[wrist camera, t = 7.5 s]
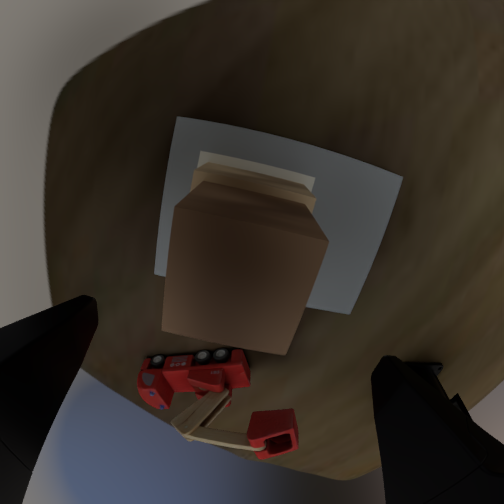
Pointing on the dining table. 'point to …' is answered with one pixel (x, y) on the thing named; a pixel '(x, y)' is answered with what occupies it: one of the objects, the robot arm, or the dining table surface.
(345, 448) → the dining table surface
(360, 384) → the dining table surface
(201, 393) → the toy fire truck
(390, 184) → the plate
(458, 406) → the robot arm
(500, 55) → the dining table surface
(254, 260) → the walnut cube
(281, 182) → the oak base block
